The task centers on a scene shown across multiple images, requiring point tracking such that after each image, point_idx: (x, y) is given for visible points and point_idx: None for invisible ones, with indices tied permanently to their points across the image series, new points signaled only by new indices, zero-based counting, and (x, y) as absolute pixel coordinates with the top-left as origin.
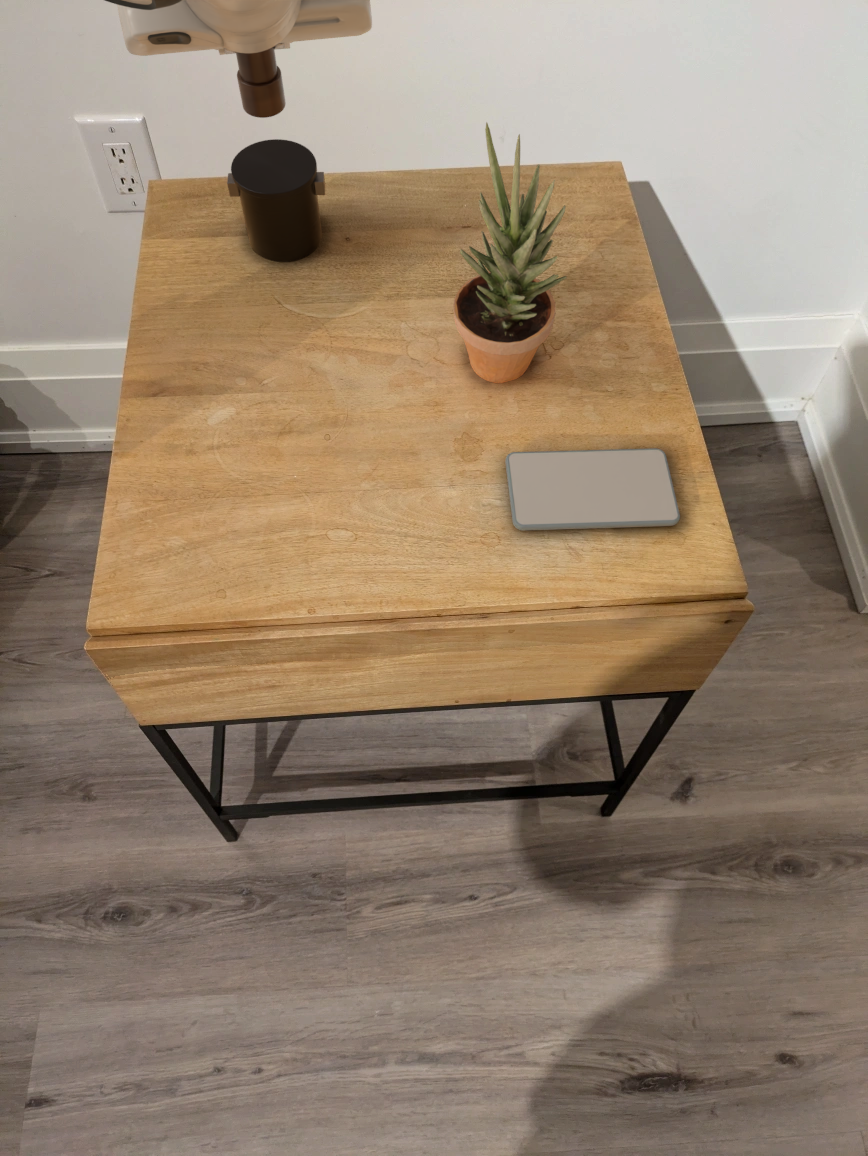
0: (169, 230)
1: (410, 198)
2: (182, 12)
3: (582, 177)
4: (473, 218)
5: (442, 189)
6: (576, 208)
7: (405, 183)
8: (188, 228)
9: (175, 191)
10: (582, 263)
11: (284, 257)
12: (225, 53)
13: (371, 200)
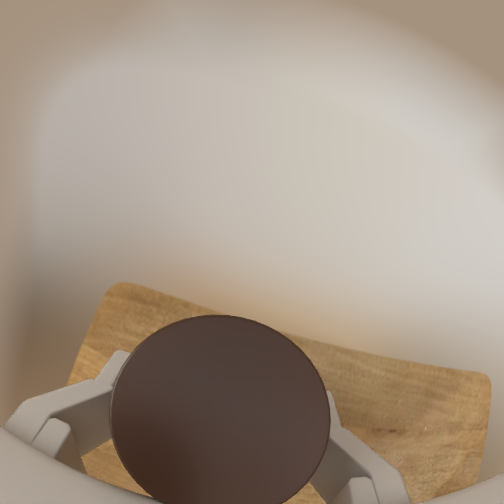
0: (101, 338)
1: (357, 380)
2: None
3: (477, 378)
4: (401, 419)
5: (387, 374)
6: (467, 415)
7: (358, 356)
8: (118, 344)
9: (126, 284)
10: (451, 477)
11: None
12: None
13: (319, 373)
